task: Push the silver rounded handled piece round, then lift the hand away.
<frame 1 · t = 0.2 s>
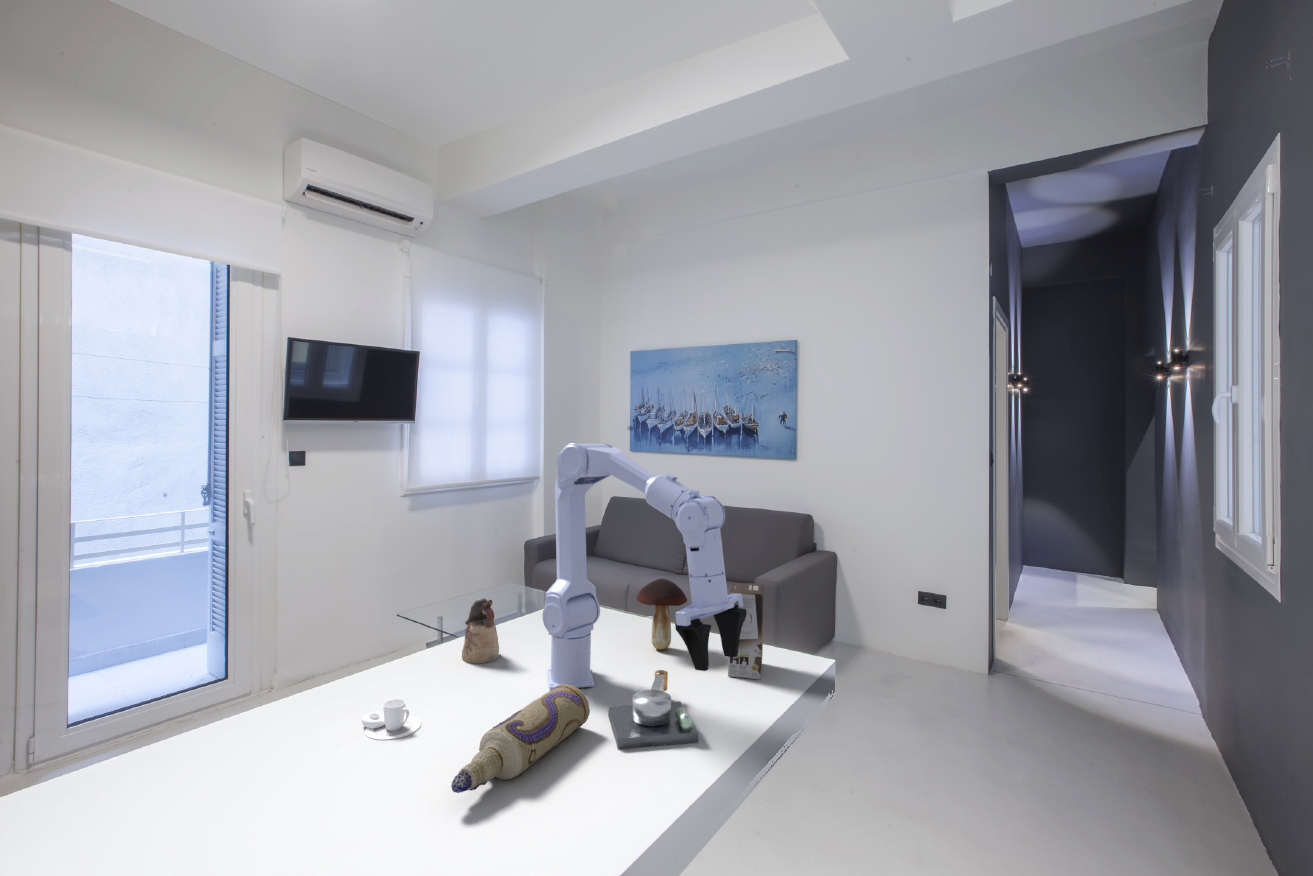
hand: (716, 662, 97), 10 cm above the table, tool pointing down, fingers open, 7 cm apart
coffee box: (745, 671, 122), on the table
decorative mushroom: (660, 650, 133), on the table
figurine: (480, 658, 127), on the table
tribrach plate: (651, 728, 97), on the table
decorative bottle: (519, 760, 88), on the table
teacup and saucer: (397, 722, 99), on the table
silver rounded handled piece: (655, 695, 102), point 3 cm above the table, hinge at 0.0°
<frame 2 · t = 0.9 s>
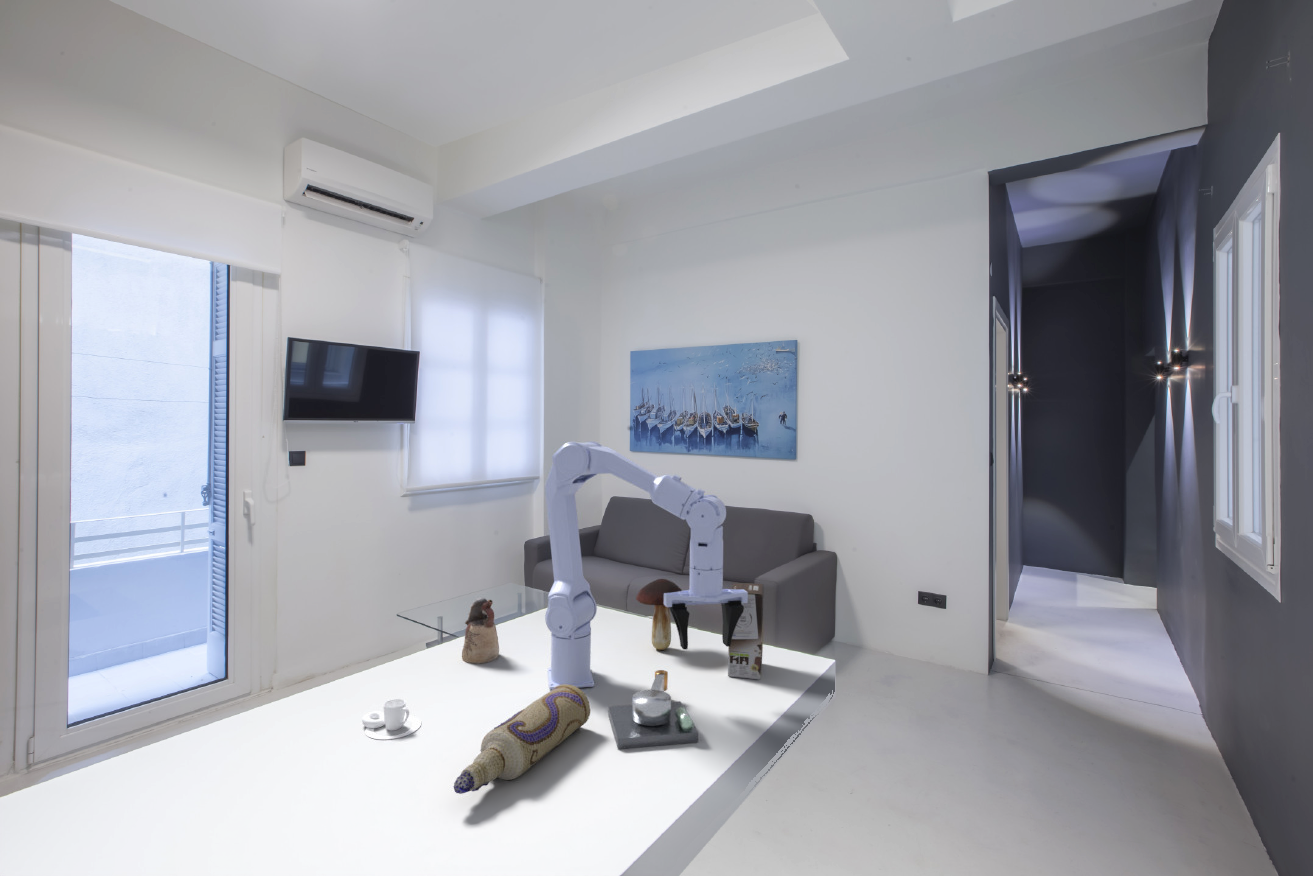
hand: (705, 646, 108), 9 cm above the table, tool pointing down, fingers open, 7 cm apart
nothing on the table moved.
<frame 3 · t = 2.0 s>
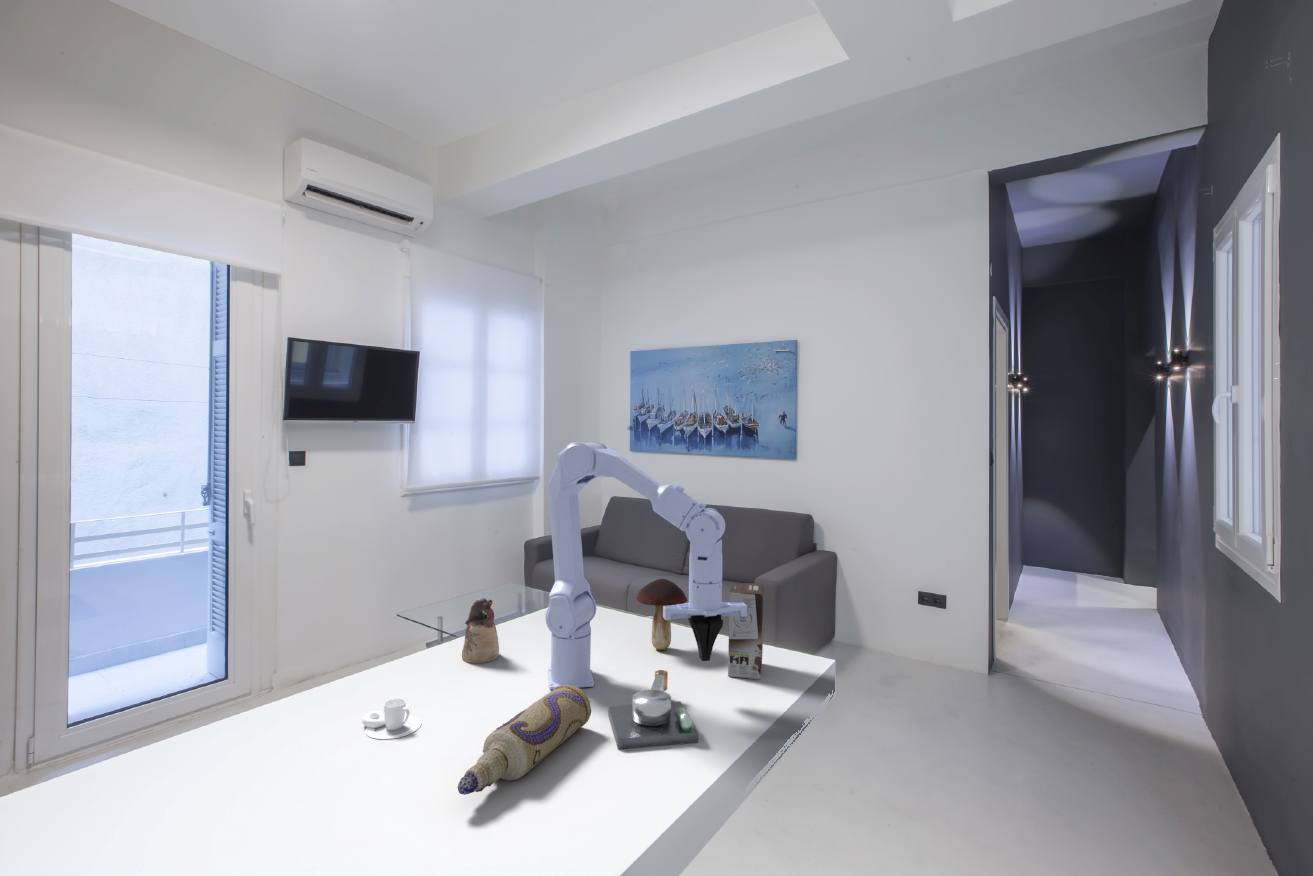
hand: (704, 659, 108), 7 cm above the table, tool pointing down, fingers closed
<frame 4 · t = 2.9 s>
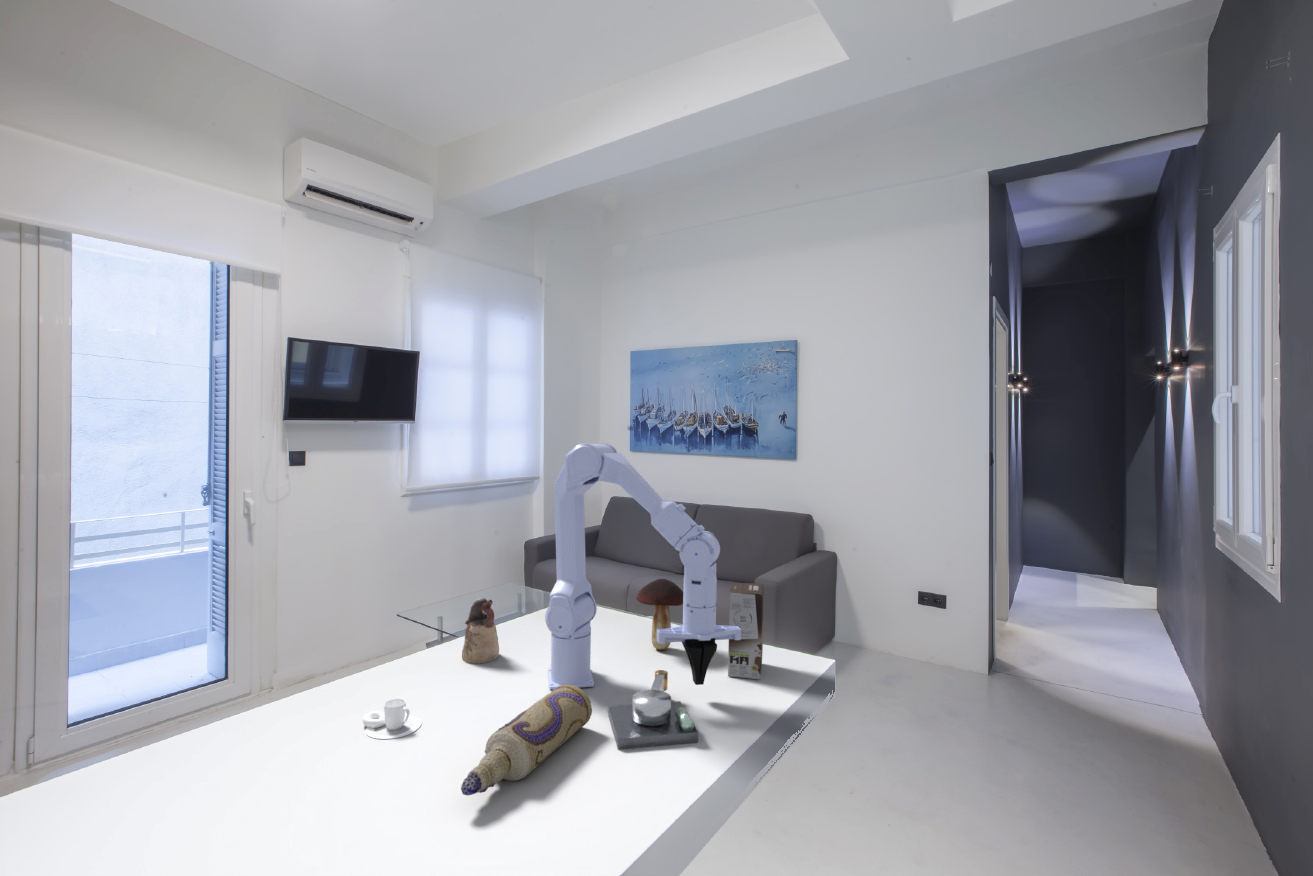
hand: (698, 682, 108), 3 cm above the table, tool pointing down, fingers closed
nothing on the table moved.
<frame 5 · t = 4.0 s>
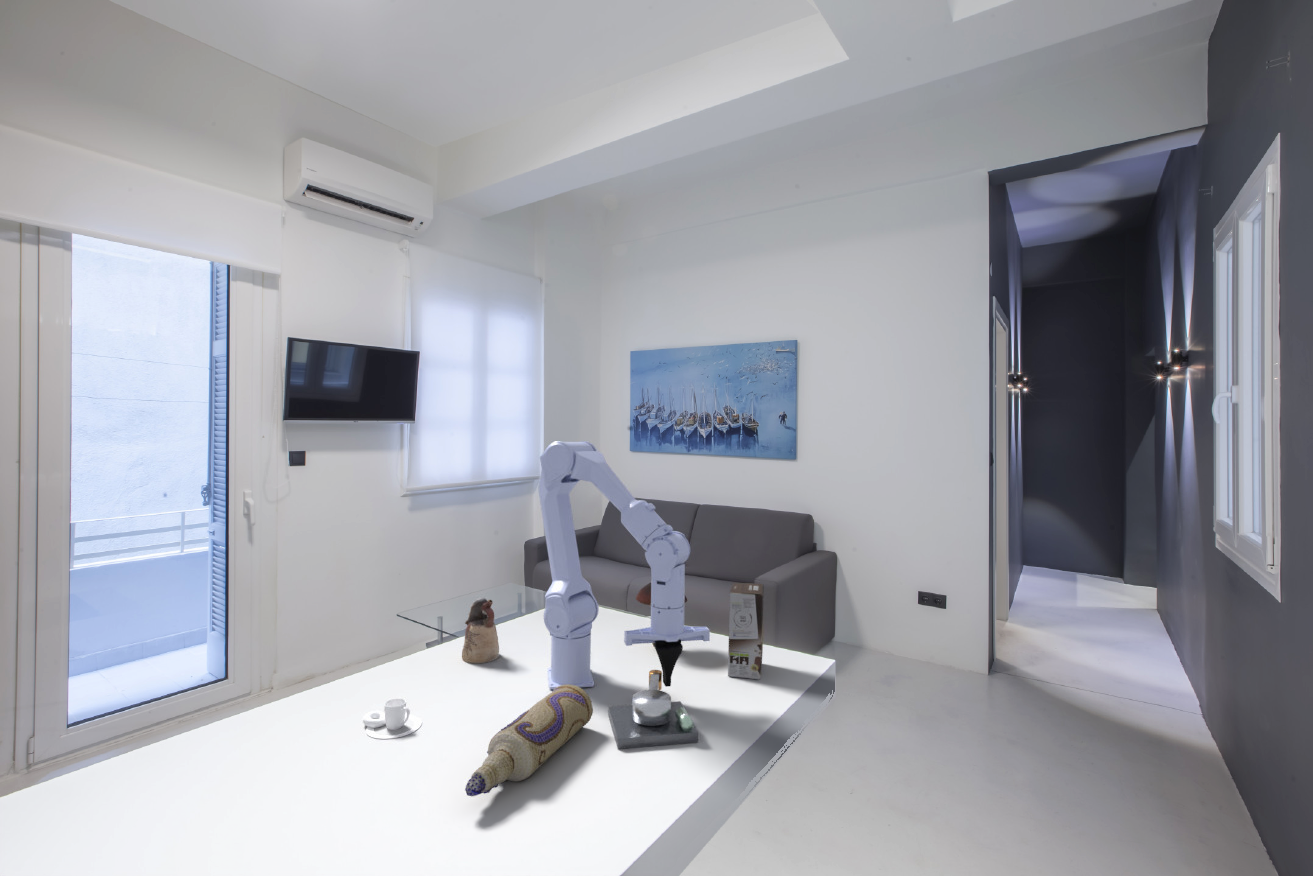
hand: (666, 684, 107), 3 cm above the table, tool pointing down, fingers closed
silver rounded handled piece: (653, 695, 102), point 3 cm above the table, hinge at 5.4°, touching gripper
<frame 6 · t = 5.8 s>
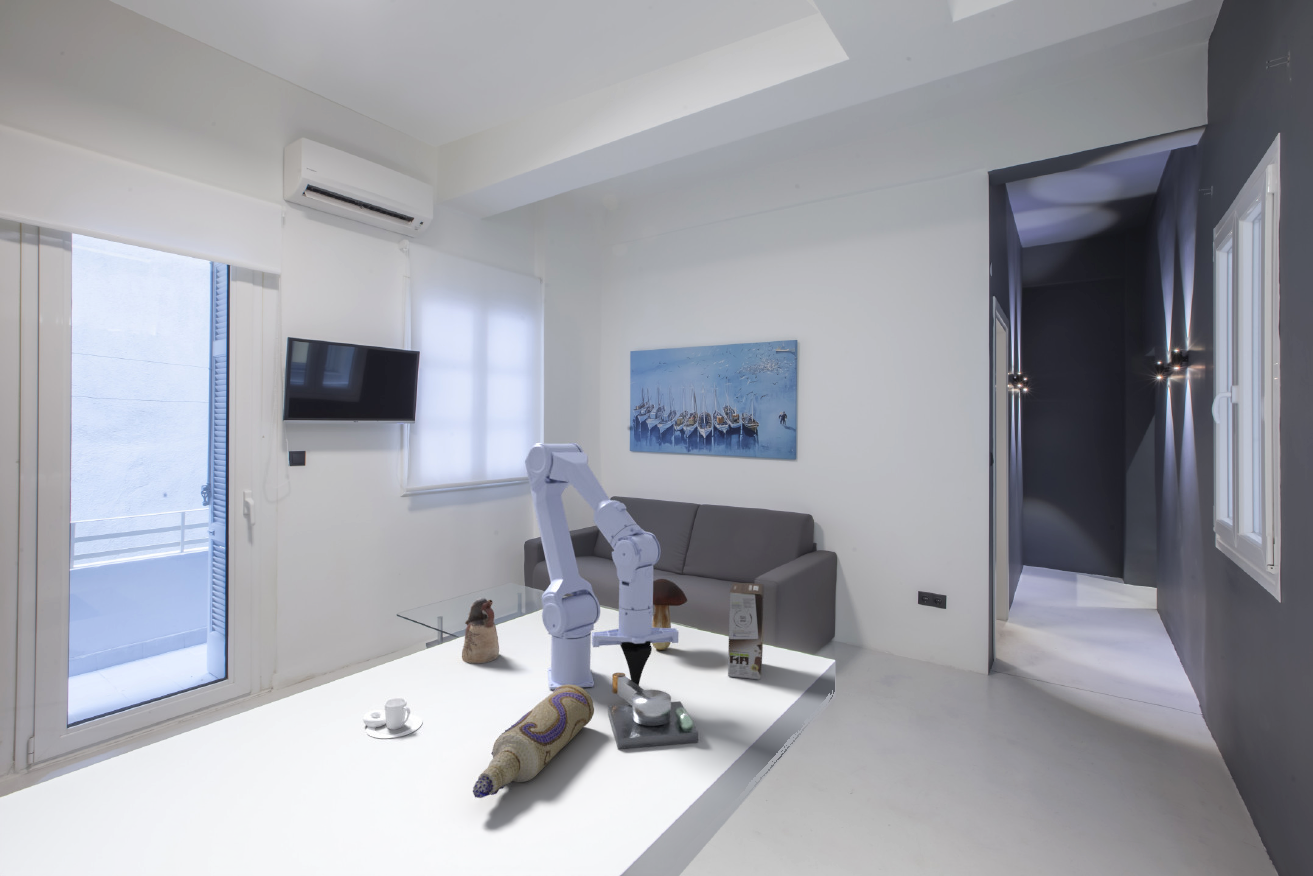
hand: (634, 686, 106), 3 cm above the table, tool pointing down, fingers closed
silver rounded handled piece: (637, 696, 101), point 3 cm above the table, hinge at 39.2°, touching gripper
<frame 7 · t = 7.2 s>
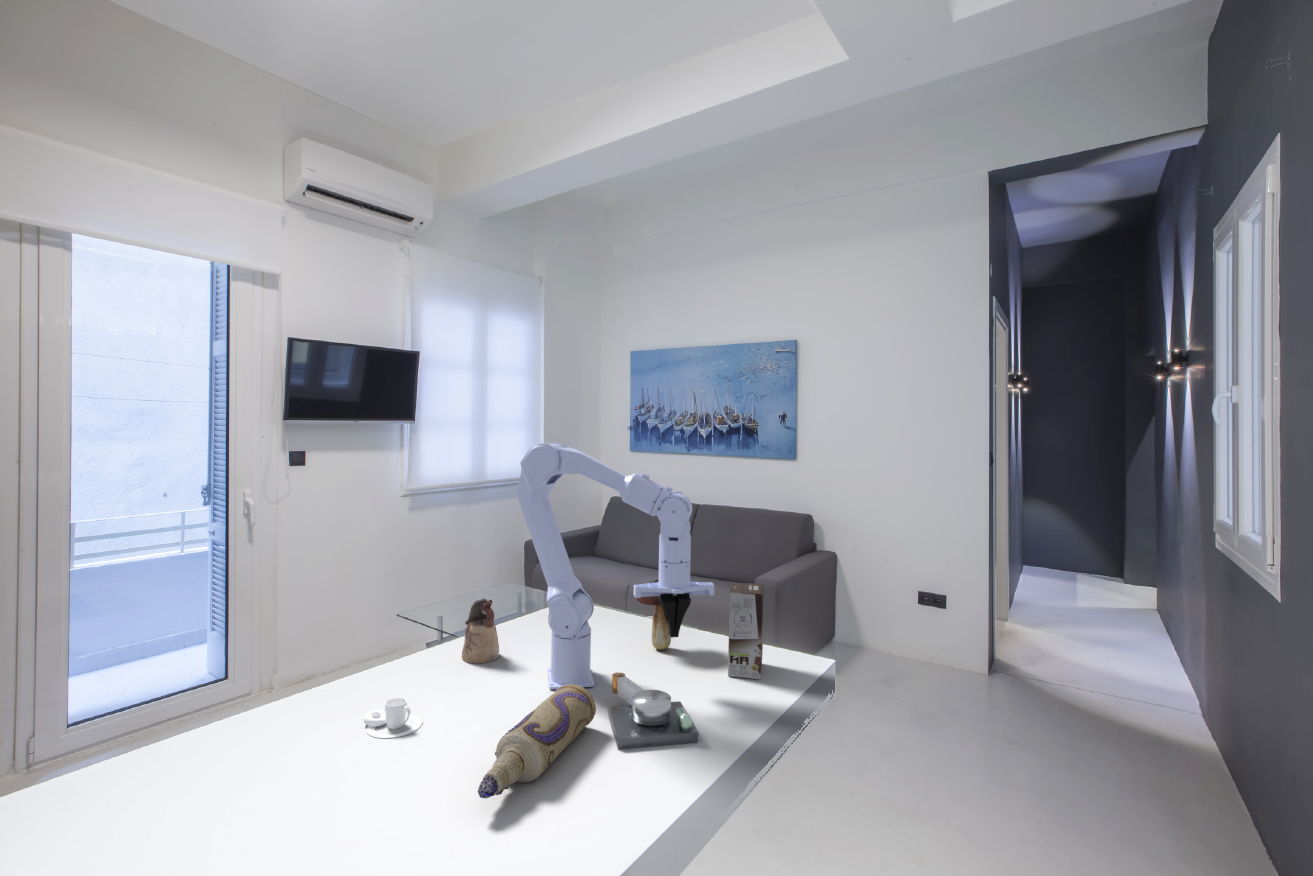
hand: (673, 635, 113), 9 cm above the table, tool pointing down, fingers closed
silver rounded handled piece: (637, 696, 101), point 3 cm above the table, hinge at 39.3°
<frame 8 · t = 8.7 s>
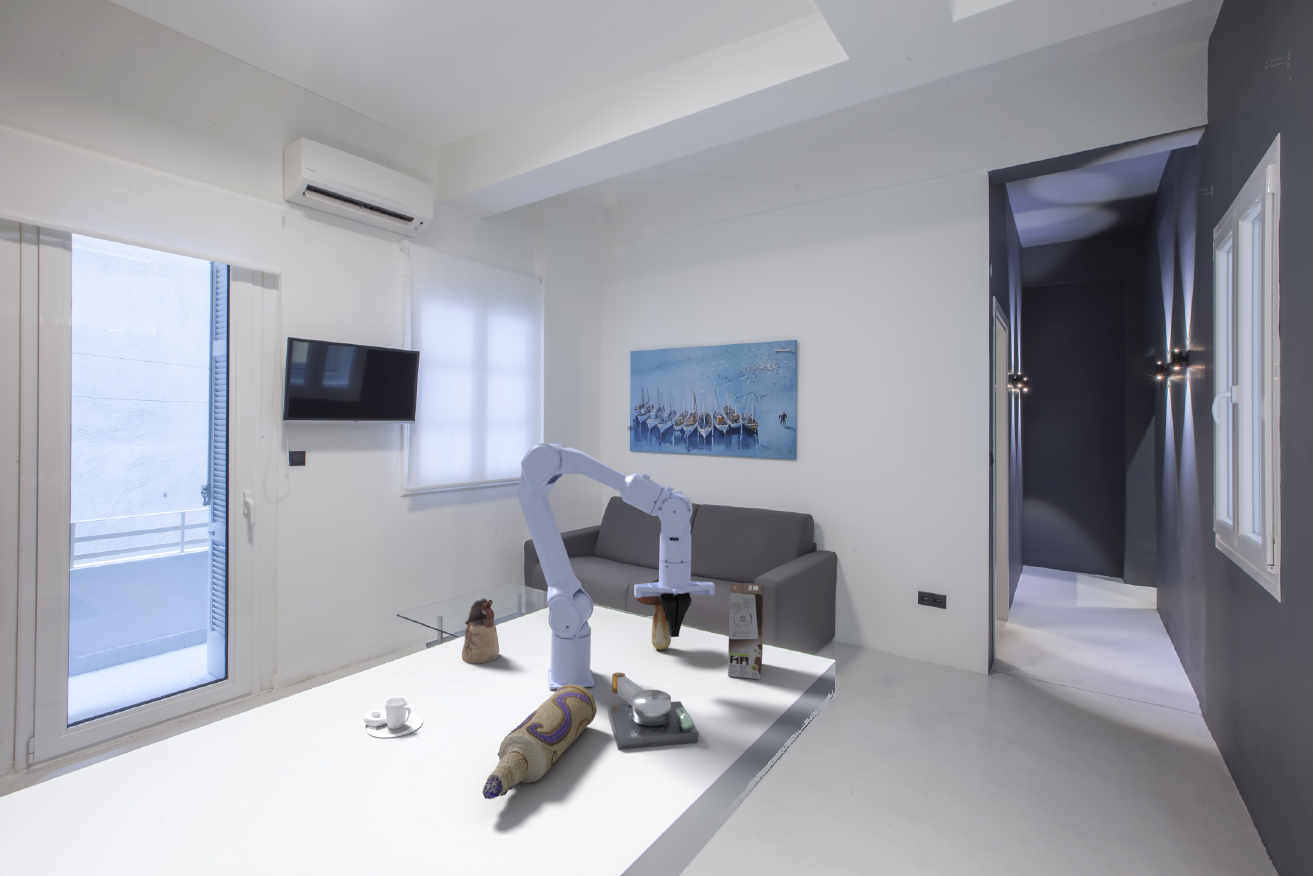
hand: (673, 635, 113), 9 cm above the table, tool pointing down, fingers closed
at the end: silver rounded handled piece at +39° (first picture: +0°) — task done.
